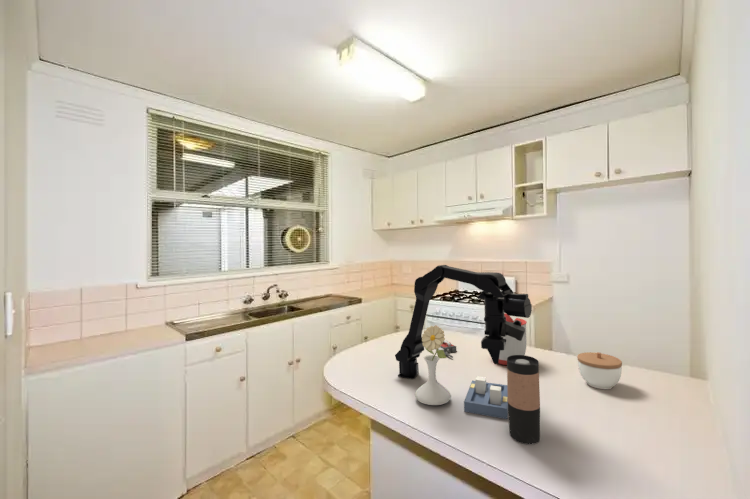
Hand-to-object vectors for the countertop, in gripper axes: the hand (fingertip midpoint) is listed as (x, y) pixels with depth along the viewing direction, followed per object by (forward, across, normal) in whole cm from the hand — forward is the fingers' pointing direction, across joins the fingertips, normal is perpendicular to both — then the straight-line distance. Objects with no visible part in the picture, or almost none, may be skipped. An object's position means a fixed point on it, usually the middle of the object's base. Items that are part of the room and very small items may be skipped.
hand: (496, 363), depth 103 cm
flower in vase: (+13, -6, +19) cm, 23 cm away
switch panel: (+12, 0, +3) cm, 13 cm away
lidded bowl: (+13, +26, -31) cm, 42 cm away
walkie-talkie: (+13, +43, +26) cm, 52 cm away
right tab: (+11, -3, 0) cm, 11 cm away
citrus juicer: (+13, +40, -1) cm, 41 cm away
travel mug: (+13, -16, -8) cm, 22 cm away
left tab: (+11, +3, +5) cm, 12 cm away
